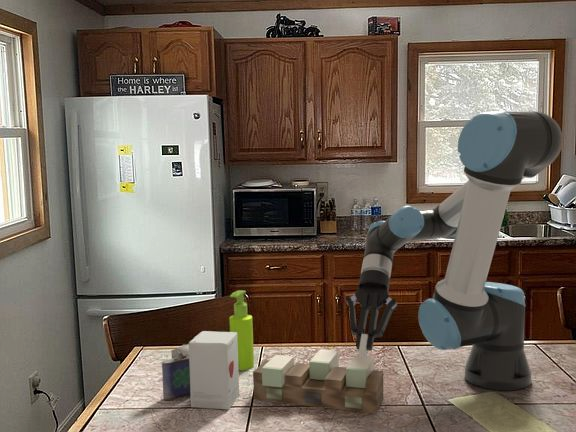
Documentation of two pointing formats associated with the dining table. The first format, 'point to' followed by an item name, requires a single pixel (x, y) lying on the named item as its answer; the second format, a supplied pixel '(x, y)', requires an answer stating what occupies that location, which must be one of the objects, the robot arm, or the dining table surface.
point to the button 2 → (359, 371)
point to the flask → (176, 377)
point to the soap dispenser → (242, 331)
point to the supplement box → (214, 370)
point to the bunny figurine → (183, 347)
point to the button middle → (323, 363)
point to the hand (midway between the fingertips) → (361, 361)
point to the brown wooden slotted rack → (322, 390)
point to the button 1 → (276, 370)
